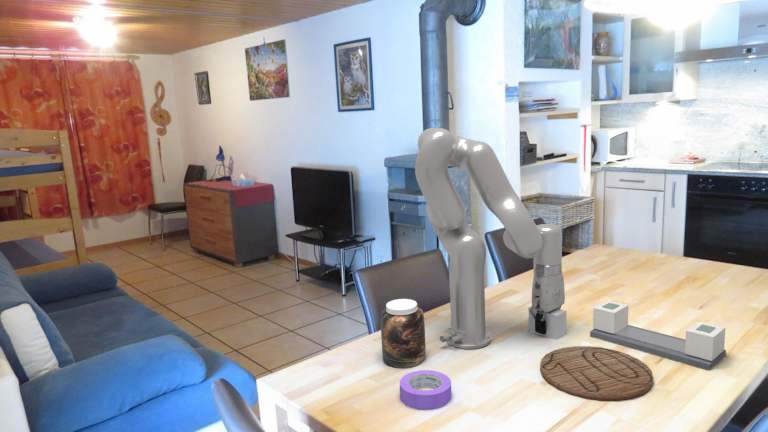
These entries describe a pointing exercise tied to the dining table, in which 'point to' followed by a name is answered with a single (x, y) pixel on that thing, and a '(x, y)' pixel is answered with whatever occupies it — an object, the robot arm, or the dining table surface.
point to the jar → (403, 334)
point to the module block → (551, 323)
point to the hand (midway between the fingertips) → (547, 328)
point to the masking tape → (425, 397)
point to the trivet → (596, 373)
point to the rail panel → (656, 345)
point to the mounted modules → (699, 337)
